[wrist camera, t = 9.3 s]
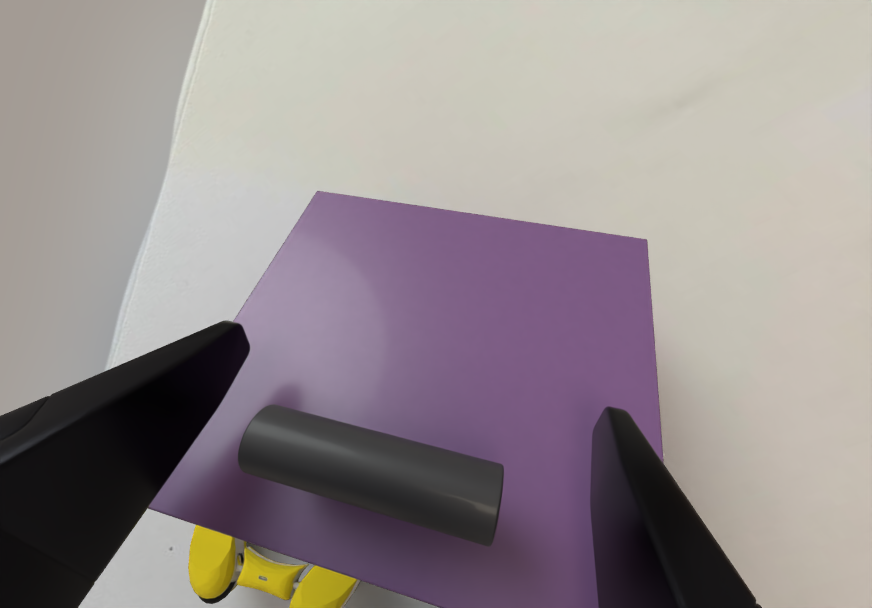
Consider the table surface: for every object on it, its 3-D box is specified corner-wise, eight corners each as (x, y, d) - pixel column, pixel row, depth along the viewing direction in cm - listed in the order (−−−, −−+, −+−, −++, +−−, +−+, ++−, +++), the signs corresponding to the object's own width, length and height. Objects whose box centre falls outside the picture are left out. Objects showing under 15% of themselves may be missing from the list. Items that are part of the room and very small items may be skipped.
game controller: (194, 582, 20) (147, 595, 17) (245, 462, 23) (213, 455, 20) (361, 636, 19) (341, 660, 16) (394, 499, 22) (382, 498, 19)
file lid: (665, 679, 8) (808, 770, 4) (135, 500, 10) (-7, 481, 7) (640, 250, 14) (692, 168, 11) (321, 201, 16) (290, 122, 13)
